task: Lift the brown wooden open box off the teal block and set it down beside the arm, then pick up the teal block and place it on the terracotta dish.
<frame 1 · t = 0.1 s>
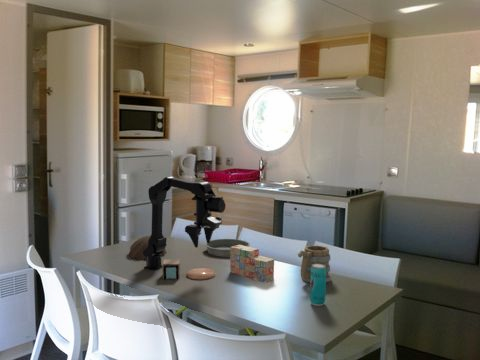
hand: (202, 245, 209), 15 cm above the table, fingers open, 9 cm apart
block: (171, 277, 210), on the table
decorative dome: (147, 255, 247), on the table
tankard: (311, 281, 206), on the table
stack of blocks: (251, 276, 213), on the table
dish: (201, 275, 213), on the table
brown wooden open box: (171, 276, 210), on the table
beverage can: (317, 304, 179), on the table
cake pan: (227, 252, 255), on the table
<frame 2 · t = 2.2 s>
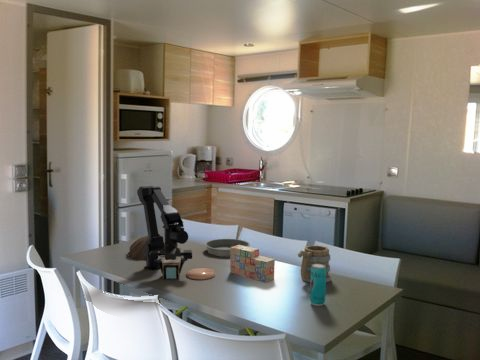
hand: (171, 273, 210), 2 cm above the table, fingers closed on brown wooden open box, 7 cm apart
brown wooden open box: (171, 276, 210), on the table, touching gripper
everything else where it was.
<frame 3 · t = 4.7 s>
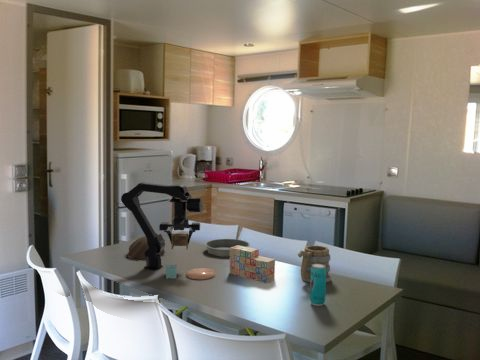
hand: (180, 244, 220), 12 cm above the table, fingers closed on brown wooden open box, 7 cm apart
brown wooden open box: (180, 247, 220), point 10 cm above the table, touching gripper
when the fingers open (3 cm above the table, at t = 7.5 s): brown wooden open box drops 1 cm, on the table.
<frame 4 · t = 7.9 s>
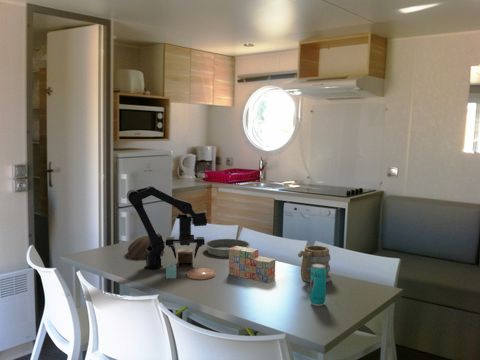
hand: (185, 258, 229), 3 cm above the table, fingers open, 9 cm apart
brown wooden open box: (185, 264, 229), on the table
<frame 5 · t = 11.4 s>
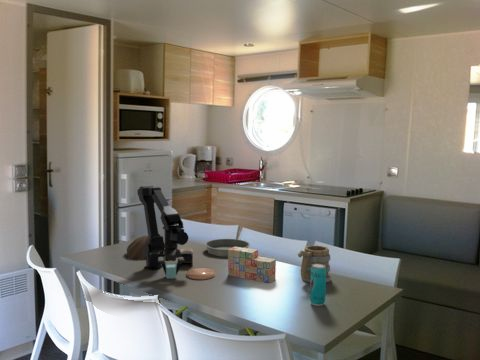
hand: (171, 274, 210), 1 cm above the table, fingers closed on block, 4 cm apart
block: (171, 276, 210), on the table, touching gripper
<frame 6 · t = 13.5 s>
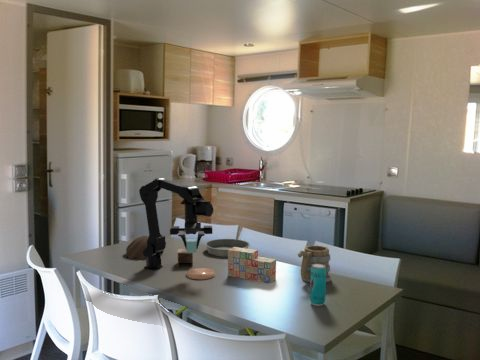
hand: (191, 249, 210), 12 cm above the table, fingers closed on block, 4 cm apart
block: (191, 251, 210), point 11 cm above the table, touching gripper
when the fingers open (4 cm above the table, at t = 15.7 s): block drops 1 cm, resting on dish.
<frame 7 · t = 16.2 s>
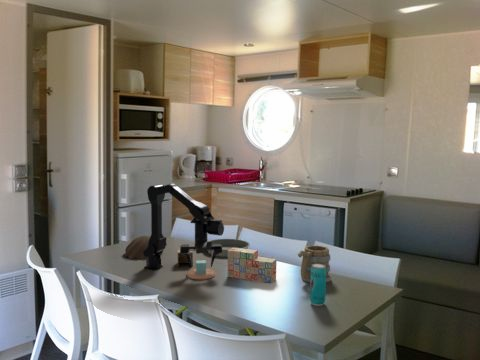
hand: (201, 267, 213), 4 cm above the table, fingers open, 9 cm apart
block: (201, 272, 213), point 1 cm above the table, touching dish
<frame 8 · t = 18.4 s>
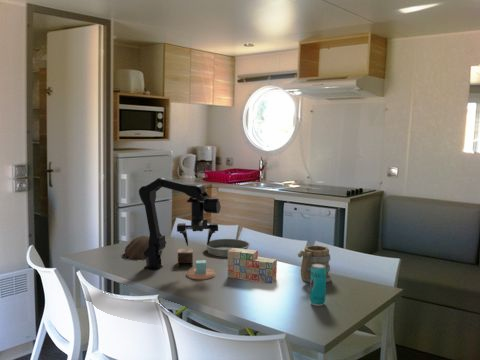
hand: (197, 245, 216), 12 cm above the table, fingers open, 9 cm apart
at the end: block inside the target area on the dish (0.1 cm from its centre), point 1.2 cm above the dish's base; block tilted 0°; brown wooden open box moved 19.8 cm from its start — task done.
